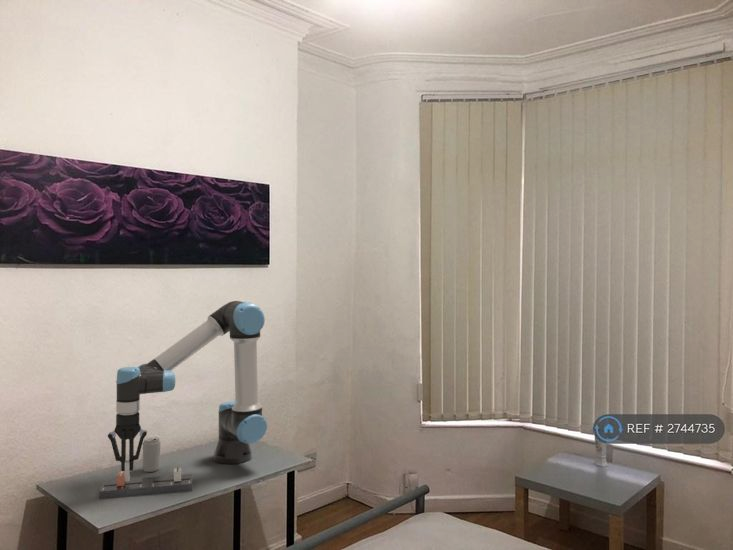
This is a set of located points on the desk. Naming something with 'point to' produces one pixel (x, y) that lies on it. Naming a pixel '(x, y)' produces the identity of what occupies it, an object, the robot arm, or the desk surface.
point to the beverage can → (151, 454)
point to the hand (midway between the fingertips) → (127, 479)
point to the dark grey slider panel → (145, 486)
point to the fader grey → (177, 474)
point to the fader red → (121, 478)
